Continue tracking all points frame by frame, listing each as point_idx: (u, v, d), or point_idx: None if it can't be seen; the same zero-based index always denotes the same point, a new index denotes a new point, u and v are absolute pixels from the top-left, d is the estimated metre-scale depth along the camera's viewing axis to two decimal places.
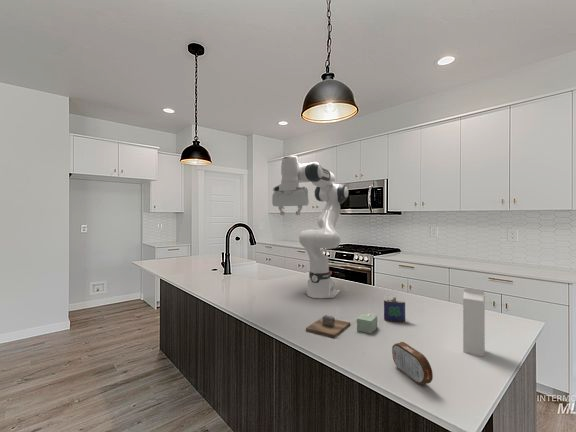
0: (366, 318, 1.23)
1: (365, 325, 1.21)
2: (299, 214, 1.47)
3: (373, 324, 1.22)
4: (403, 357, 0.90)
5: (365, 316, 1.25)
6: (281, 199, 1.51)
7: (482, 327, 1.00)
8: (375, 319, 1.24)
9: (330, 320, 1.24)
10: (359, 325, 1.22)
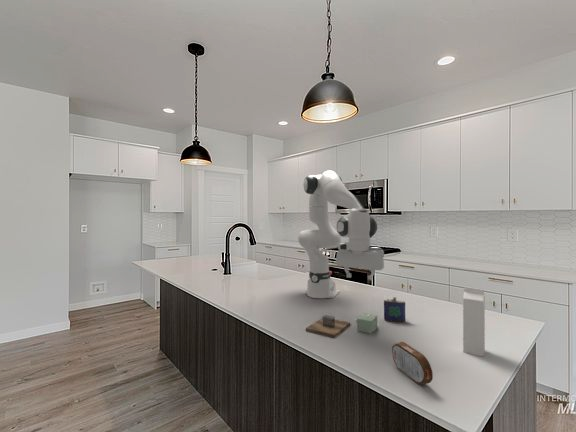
0: (366, 318, 1.23)
1: (365, 325, 1.21)
2: (372, 279, 1.23)
3: (373, 324, 1.22)
4: (403, 357, 0.90)
5: (365, 316, 1.25)
6: (348, 259, 1.27)
7: (482, 327, 1.00)
8: (375, 319, 1.24)
9: (330, 320, 1.24)
10: (359, 325, 1.22)
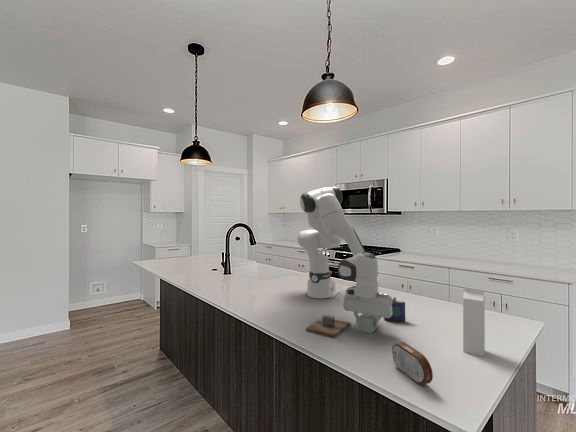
0: (366, 318, 1.23)
1: (365, 325, 1.21)
2: (377, 325, 1.22)
3: (373, 324, 1.22)
4: (403, 357, 0.90)
5: (365, 316, 1.25)
6: (356, 304, 1.25)
7: (482, 327, 1.00)
8: (375, 319, 1.24)
9: (330, 320, 1.24)
10: (359, 325, 1.22)
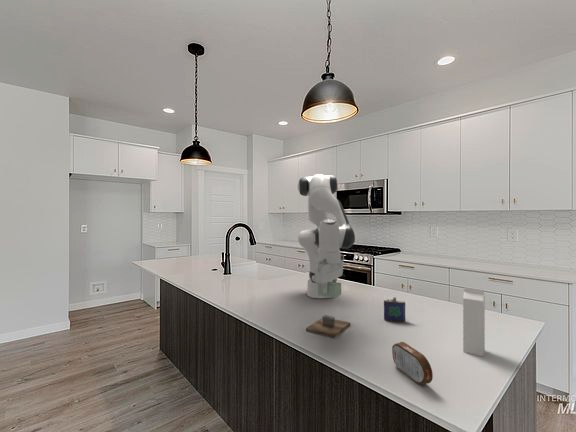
0: None
1: None
2: (325, 292, 1.22)
3: None
4: (403, 357, 0.90)
5: (331, 282, 1.26)
6: None
7: (482, 327, 1.00)
8: (329, 287, 1.22)
9: (330, 320, 1.24)
10: None
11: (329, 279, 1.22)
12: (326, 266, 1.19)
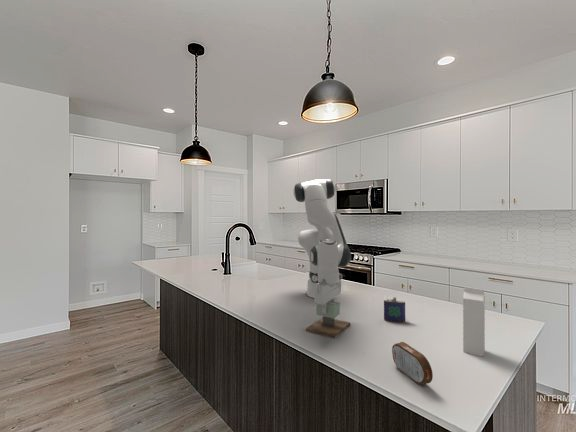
0: None
1: None
2: (324, 312, 1.22)
3: None
4: (403, 357, 0.90)
5: None
6: None
7: (482, 327, 1.00)
8: (328, 307, 1.22)
9: (330, 320, 1.24)
10: None
11: (328, 299, 1.22)
12: (325, 287, 1.19)
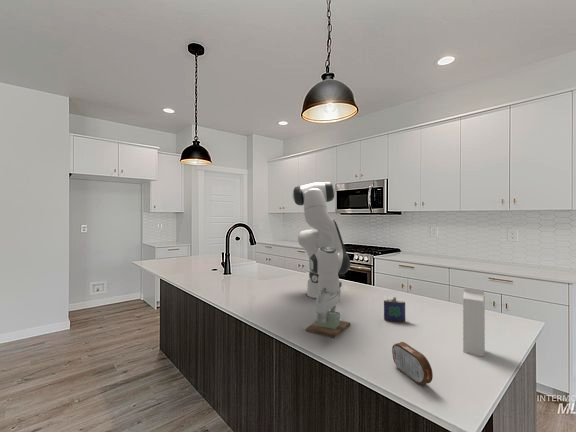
0: None
1: None
2: (324, 321, 1.21)
3: None
4: (403, 357, 0.90)
5: (329, 312, 1.27)
6: None
7: (482, 327, 1.00)
8: (329, 318, 1.23)
9: None
10: None
11: (329, 308, 1.22)
12: (326, 295, 1.19)
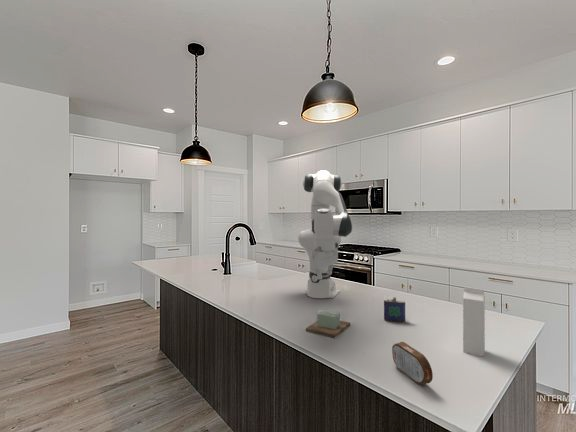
0: (324, 312, 1.27)
1: None
2: (319, 278, 1.27)
3: (322, 319, 1.24)
4: (403, 357, 0.90)
5: (329, 312, 1.27)
6: None
7: (482, 327, 1.00)
8: (329, 318, 1.23)
9: None
10: None
11: (324, 266, 1.27)
12: (321, 253, 1.25)
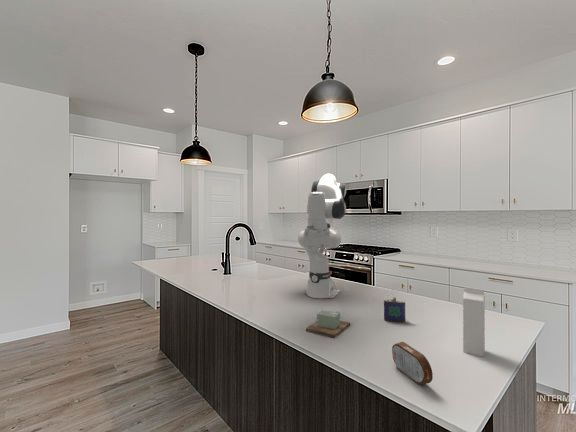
0: (324, 312, 1.27)
1: None
2: (311, 254, 1.38)
3: (322, 319, 1.24)
4: (403, 357, 0.90)
5: (329, 312, 1.27)
6: None
7: (482, 327, 1.00)
8: (329, 318, 1.23)
9: None
10: None
11: (316, 243, 1.38)
12: (313, 231, 1.36)
